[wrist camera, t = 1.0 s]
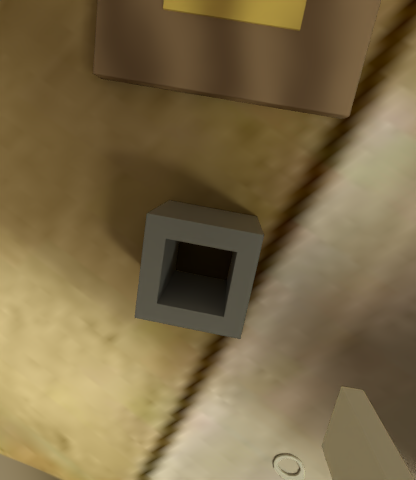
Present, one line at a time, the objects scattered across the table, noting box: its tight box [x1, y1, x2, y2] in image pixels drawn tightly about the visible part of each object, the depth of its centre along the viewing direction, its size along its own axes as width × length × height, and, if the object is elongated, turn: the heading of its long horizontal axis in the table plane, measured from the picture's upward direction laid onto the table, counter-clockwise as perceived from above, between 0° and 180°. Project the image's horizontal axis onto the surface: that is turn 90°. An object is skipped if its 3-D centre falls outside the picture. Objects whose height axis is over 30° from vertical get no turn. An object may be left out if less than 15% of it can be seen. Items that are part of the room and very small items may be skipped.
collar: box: [135, 200, 264, 339], centre depth 25 cm, size 8×8×7 cm
